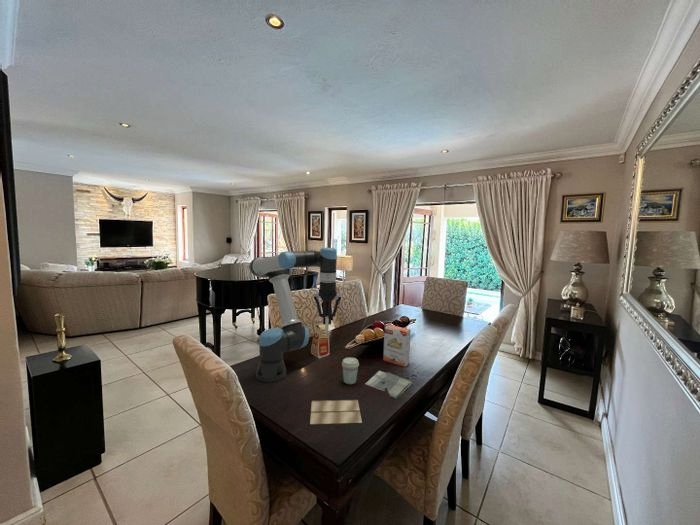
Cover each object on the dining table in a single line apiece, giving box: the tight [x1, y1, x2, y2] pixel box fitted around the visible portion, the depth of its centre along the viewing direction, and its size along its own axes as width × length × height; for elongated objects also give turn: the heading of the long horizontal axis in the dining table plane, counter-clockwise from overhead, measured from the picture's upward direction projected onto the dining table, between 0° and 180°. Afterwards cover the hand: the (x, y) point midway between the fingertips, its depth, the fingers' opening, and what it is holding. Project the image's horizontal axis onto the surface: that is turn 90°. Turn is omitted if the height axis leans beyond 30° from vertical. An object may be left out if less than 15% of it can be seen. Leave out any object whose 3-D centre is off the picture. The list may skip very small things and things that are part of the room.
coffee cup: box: [341, 356, 360, 385], centre depth 143 cm, size 8×9×12 cm
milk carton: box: [310, 322, 330, 359], centre depth 177 cm, size 9×9×20 cm
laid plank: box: [309, 410, 363, 425], centre depth 115 cm, size 20×8×2 cm, turn 95°
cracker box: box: [382, 324, 411, 368], centre depth 168 cm, size 14×6×21 cm, turn 55°
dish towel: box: [364, 370, 413, 400], centre depth 143 cm, size 19×18×3 cm
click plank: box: [310, 399, 360, 413], centre depth 122 cm, size 20×8×2 cm, turn 95°
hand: (326, 330), depth 135 cm, fingers closed
